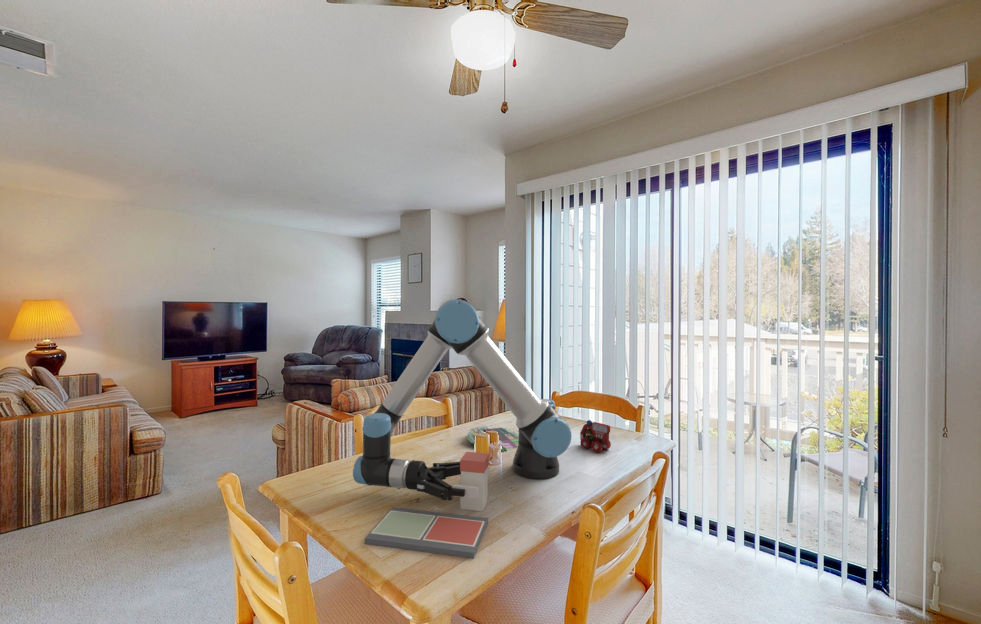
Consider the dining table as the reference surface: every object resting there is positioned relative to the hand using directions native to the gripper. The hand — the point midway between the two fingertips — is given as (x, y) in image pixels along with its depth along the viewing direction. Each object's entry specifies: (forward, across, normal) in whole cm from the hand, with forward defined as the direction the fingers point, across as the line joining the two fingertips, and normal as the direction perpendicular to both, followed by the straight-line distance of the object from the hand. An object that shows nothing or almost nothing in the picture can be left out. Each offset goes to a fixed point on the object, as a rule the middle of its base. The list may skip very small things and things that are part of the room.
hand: (484, 481), depth 113 cm
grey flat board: (-10, +16, -6) cm, 20 cm away
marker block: (-3, 0, -6) cm, 7 cm away
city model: (-7, -52, -7) cm, 53 cm away
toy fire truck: (+31, -54, -7) cm, 63 cm away
